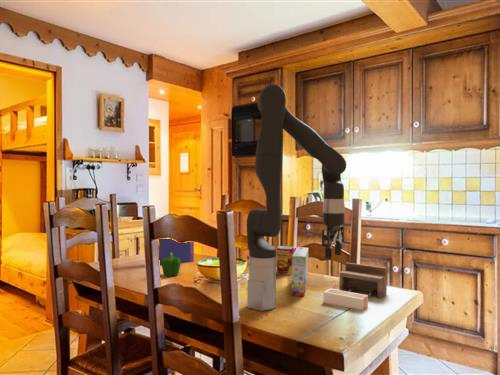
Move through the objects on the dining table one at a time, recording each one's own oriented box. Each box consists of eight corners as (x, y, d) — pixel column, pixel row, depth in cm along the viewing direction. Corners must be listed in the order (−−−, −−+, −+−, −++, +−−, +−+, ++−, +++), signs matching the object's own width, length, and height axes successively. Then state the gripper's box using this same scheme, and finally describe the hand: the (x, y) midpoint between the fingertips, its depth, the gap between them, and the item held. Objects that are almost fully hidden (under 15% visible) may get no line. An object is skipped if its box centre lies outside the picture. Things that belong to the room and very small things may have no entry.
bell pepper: (176, 278, 168) (176, 255, 168) (159, 277, 170) (159, 254, 169) (183, 273, 176) (183, 251, 176) (166, 272, 178) (166, 251, 178)
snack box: (305, 297, 142) (306, 256, 141) (290, 296, 143) (290, 255, 143) (308, 282, 162) (308, 246, 162) (295, 281, 164) (295, 246, 163)
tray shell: (323, 303, 135) (323, 292, 135) (329, 299, 140) (329, 288, 140) (362, 311, 127) (362, 299, 127) (367, 306, 132) (367, 295, 131)
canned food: (273, 273, 178) (273, 247, 178) (283, 270, 184) (283, 245, 184) (287, 275, 173) (287, 249, 173) (297, 272, 179) (297, 247, 179)
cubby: (380, 298, 140) (381, 271, 140) (339, 290, 149) (339, 265, 149) (386, 293, 146) (386, 267, 146) (346, 286, 155) (346, 262, 155)
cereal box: (190, 260, 206) (190, 215, 206) (193, 261, 202) (193, 216, 202) (158, 263, 197) (158, 217, 197) (161, 265, 193) (161, 217, 193)
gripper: (335, 213, 128) (335, 261, 128) (351, 210, 139) (350, 254, 140) (315, 212, 132) (314, 259, 132) (331, 209, 143) (331, 252, 144)
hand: (333, 256), depth 136 cm, fingers open, 8 cm apart
